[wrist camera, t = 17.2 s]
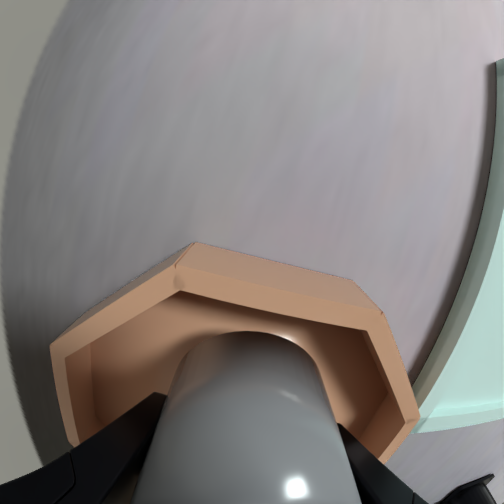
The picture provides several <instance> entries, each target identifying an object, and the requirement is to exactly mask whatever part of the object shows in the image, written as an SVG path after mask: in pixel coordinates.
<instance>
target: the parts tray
mask: <svg viewBox="0 0 504 504" xmlns="http://www.w3.org/2000/svg"><path fill="white" fill-rule="evenodd" d="M496 73H497V106H496V125H495V137H494V147H493V155H492V163H491V170H490V176H489V182H488V187H487V192H486V197H485V202H484V207H483V211H482V215H481V219H480V223H479V227H478V231H477V235H476V238H475V242H474V245H473V249H472V252H471V255H470V258H469V262H468V265H467V268H466V271H465V273H464V276H463V279H462V282H461V285H460V287H459V290H458V293H457V295H456V298H455V300H454V303H453V305H452V308H451V310H450V312H449V315H448V317H447V319H446V322H445V324H444V326H443V328H442V330H441V333H440V335H439V337H438V339H437V341H436V343H435V345H434V347H433V349H432V351H431V353H430V355H429V357H428V359H427V361H426V363H425V365H424V366H423V368H422V370H421V372H420V374H419V375H418V377H417V379H416V381H415V382H414V384H413V386H412V391H413V394H414V397H415V400H416V403H417V406H418V410H419V413H420V416H421V417H420V419H419V421H418V422H417V424H416V425H415V426H414V428H413V429H412V430H411V432H410V433H409V434H411V433H422V432H431V431H439V430H447V429H453V428H460V427H465V426H471V425H476V424H481V423H486V422H490V421H494V420H499V419H503V418H504V58H503V59H500V60H498V61H496Z"/></svg>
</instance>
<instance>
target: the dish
mask: <svg viewBox="0 0 504 504" xmlns="http://www.w3.org/2000/svg"><path fill="white" fill-rule="evenodd" d="M235 331H259V332H265V333H270V334H274V335H278V336H280V337H283V338H286V339H288V340H290V341H292V342H294V343H296V344H297V345H299V346H300V347H301V348H303V349H304V350H305V351H306V352H307V353H308V354H309V355H310V356H311V357H312V358H313V360H314V361H315V363H316V364H317V366H318V368H319V371H320V374H321V377H322V380H323V383H324V386H325V389H326V392H327V395H328V398H329V401H330V404H331V407H332V410H333V413H334V416H335V419H336V422H337V423H340V424H342V425H343V426H344V427H345V428H346V429H347V430H348V431H349V432H350V433H351V434H352V435H353V436H354V437H355V438H356V439H357V440H358V441H359V442H360V443H361V444H362V445H363V446H364V447H365V448H367V449H368V450H369V451H370V452H371V453H372V454H373V455H374V456H375V457H376V458H377V459H378V460H379V461H380V462H381V463H383V464H385V463H386V462H387V461H388V460H389V458H390V457H391V456H392V455H393V454H394V452H395V451H396V450H397V449H398V447H399V446H400V445H401V444H402V442H403V441H404V440H405V438H406V437H407V436H408V434H409V433H410V432H411V430H412V429H413V428H414V426H415V425H416V424H417V422H418V421H419V419H420V417H421V416H420V413H419V410H418V406H417V403H416V400H415V397H414V394H413V391H412V388H411V385H410V382H409V379H408V376H407V373H406V370H405V367H404V364H403V361H402V359H401V356H400V353H399V350H398V348H397V345H396V342H395V340H394V337H393V335H392V332H391V330H390V327H389V324H388V322H387V319H386V317H385V315H384V313H383V312H382V311H381V309H380V308H379V307H378V306H377V305H376V304H375V303H374V302H373V301H372V300H371V299H370V298H369V297H368V296H367V295H366V294H365V293H364V292H363V290H362V289H361V288H360V287H359V286H358V285H357V284H356V283H355V282H353V281H352V280H349V279H345V278H341V277H337V276H333V275H328V274H324V273H320V272H316V271H312V270H308V269H304V268H300V267H296V266H291V265H287V264H283V263H279V262H275V261H271V260H267V259H263V258H259V257H255V256H250V255H246V254H242V253H238V252H234V251H230V250H226V249H222V248H218V247H214V246H210V245H206V244H202V243H198V242H195V243H194V244H193V243H191V244H190V245H188V246H186V247H185V248H183V249H182V250H180V251H178V252H177V253H175V254H174V255H172V256H171V257H169V258H167V259H166V260H164V261H163V262H161V263H159V264H158V265H156V266H155V267H153V268H152V269H150V270H149V271H147V272H146V273H144V274H142V275H141V276H139V277H138V278H136V279H135V280H133V281H132V282H130V283H129V284H127V285H126V286H124V287H123V288H121V289H120V290H118V291H117V292H115V293H114V294H112V295H111V296H109V297H108V298H106V299H105V300H103V301H102V302H100V303H99V304H97V305H96V306H94V307H93V308H91V309H90V310H88V311H87V312H85V313H84V314H83V315H82V316H81V317H80V318H79V319H77V320H76V321H75V322H74V323H73V324H72V325H71V326H70V327H69V328H67V329H66V330H65V331H64V332H63V333H62V334H61V335H60V336H59V337H58V338H57V339H56V340H54V341H53V342H52V343H51V344H50V354H51V361H52V368H53V375H54V380H55V386H56V391H57V396H58V401H59V406H60V410H61V415H62V419H63V423H64V427H65V431H66V434H67V438H68V441H69V442H70V444H72V445H73V446H74V447H76V446H78V445H79V444H81V443H82V442H84V441H85V440H87V439H88V438H89V437H91V436H92V435H94V434H95V433H97V432H98V431H100V430H101V429H103V428H104V427H105V426H107V425H108V424H110V423H111V422H113V421H114V420H115V419H117V418H118V417H120V416H121V415H122V414H124V413H125V412H127V411H128V410H129V409H131V408H132V407H134V406H135V405H136V404H138V403H139V402H140V401H142V400H143V399H144V398H146V397H147V396H149V395H150V394H151V393H153V392H159V393H162V394H166V395H167V393H168V391H169V388H170V385H171V382H172V380H173V377H174V374H175V372H176V369H177V367H178V365H179V363H180V361H181V360H182V358H183V357H184V356H185V355H186V354H187V352H188V351H189V350H191V349H192V348H193V347H194V346H196V345H197V344H199V343H201V342H202V341H204V340H206V339H209V338H211V337H213V336H217V335H220V334H223V333H229V332H235Z"/></svg>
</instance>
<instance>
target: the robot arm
mask: <svg viewBox="0 0 504 504" xmlns="http://www.w3.org/2000/svg"><path fill="white" fill-rule="evenodd" d="M166 397H167V395H166V394H162V393H159V392H153V393H151V394H150V395H149V396H147V397H146V398H144V399H143V400H142V401H140V402H139V403H138V404H136V405H135V406H134V407H132V408H131V409H129V410H128V411H127V412H125V413H124V414H122V415H121V416H120V417H118V418H117V419H115V420H114V421H113V422H111V423H110V424H108V425H107V426H105V427H104V428H103V429H101V430H100V431H98V432H97V433H95V434H94V435H92V436H91V437H89V438H88V439H87V440H85V441H84V442H82V443H81V444H79V445H78V446H76V447H75V448H73V449H72V450H70V452H67V453H65V454H64V455H62V456H61V457H59V458H58V459H56V460H54V461H52V462H51V463H49V464H47V465H46V466H44V467H42V468H40V469H38V470H35V471H34V472H31V473H29V474H27V475H24V476H22V477H19V478H17V479H15V480H12V481H9V482H7V483H4V484H1V485H0V504H130V502H131V498H132V495H133V492H134V489H135V486H136V483H137V480H138V477H139V474H140V471H141V468H142V465H143V462H144V459H145V456H146V453H147V450H148V447H149V445H150V442H151V440H152V437H153V434H154V432H155V429H156V426H157V424H158V421H159V418H160V415H161V412H162V409H163V406H164V403H165V400H166ZM337 425H338V429H339V432H340V435H341V438H342V441H343V444H344V447H345V451H346V454H347V457H348V460H349V463H350V467H351V470H352V473H353V476H354V480H355V483H356V486H357V490H358V493H359V496H360V500H361V503H362V504H428V503H427V502H426V501H425V500H423V499H422V498H421V497H420V496H419V495H417V494H416V493H415V492H414V493H413V490H412V489H410V488H409V487H408V486H407V485H406V484H405V483H404V482H402V481H401V480H400V479H399V478H398V477H397V476H396V475H395V474H394V473H392V472H391V471H390V470H389V469H388V468H387V467H386V466H385V465H384V464H383V463H381V462H380V461H379V460H378V459H377V458H376V457H375V456H374V455H373V454H372V453H371V452H370V451H369V450H368V449H367V448H365V447H364V446H363V445H362V444H361V443H360V442H359V441H358V440H357V439H356V438H355V437H354V436H353V435H352V434H351V433H350V432H349V431H348V430H347V429H346V428H345V427H344V426H343V425H342V424H340V423H337ZM494 477H495V476H494V474H491V475H489V476H486V477H484V478H481V479H479V480H477V481H474V482H472V483H469V484H466V485H464V486H461V487H459V488H458V489H457V490H455V491H454V492H453V493H452V494H451V495H450V496H449V497H448V498H447V499H445V500H444V501H443V502H442V503H441V504H497V503H496V502H495V500H494V498H493V496H492V495H491V493H490V491H489V490H488V488H487V486H486V485H487V484H488V483H489V482H490V481H491V480H492V479H493V478H494Z"/></svg>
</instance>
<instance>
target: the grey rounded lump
mask: <svg viewBox="0 0 504 504" xmlns="http://www.w3.org/2000/svg"><path fill="white" fill-rule="evenodd" d="M130 504H362V503H361V500H360V496H359V493H358V490H357V486H356V483H355V480H354V476H353V473H352V470H351V467H350V463H349V460H348V457H347V454H346V451H345V447H344V444H343V441H342V438H341V435H340V432H339V429H338V425H337V422H336V419H335V416H334V413H333V410H332V407H331V404H330V401H329V398H328V395H327V392H326V389H325V386H324V383H323V380H322V377H321V374H320V371H319V368H318V366H317V364H316V363H315V361H314V360H313V358H312V357H311V356H310V355H309V354H308V353H307V352H306V351H305V350H304V349H303V348H301V347H300V346H299V345H297V344H296V343H294V342H292V341H290V340H288V339H286V338H283V337H280V336H278V335H274V334H270V333H265V332H259V331H235V332H229V333H223V334H220V335H217V336H213V337H211V338H209V339H206V340H204V341H202V342H201V343H199V344H197V345H196V346H194V347H193V348H192V349H191V350H189V351H188V352H187V354H186V355H185V356H184V357H183V358H182V360H181V361H180V363H179V365H178V367H177V369H176V372H175V374H174V377H173V380H172V382H171V385H170V388H169V391H168V393H167V397H166V400H165V403H164V406H163V409H162V412H161V415H160V418H159V421H158V424H157V426H156V429H155V432H154V434H153V437H152V440H151V442H150V445H149V447H148V450H147V453H146V456H145V459H144V462H143V465H142V468H141V471H140V474H139V477H138V480H137V483H136V486H135V489H134V492H133V495H132V498H131V502H130Z"/></svg>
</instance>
